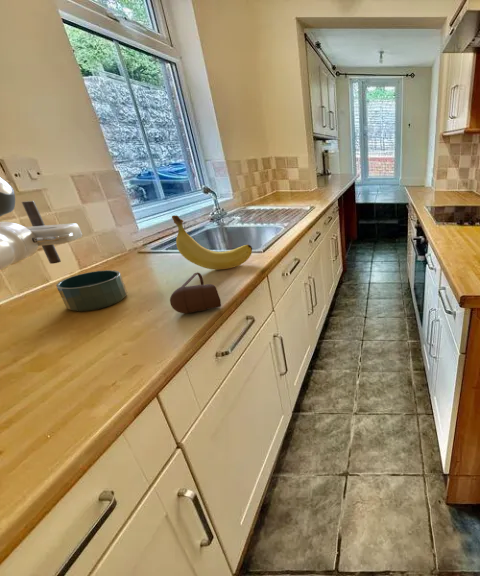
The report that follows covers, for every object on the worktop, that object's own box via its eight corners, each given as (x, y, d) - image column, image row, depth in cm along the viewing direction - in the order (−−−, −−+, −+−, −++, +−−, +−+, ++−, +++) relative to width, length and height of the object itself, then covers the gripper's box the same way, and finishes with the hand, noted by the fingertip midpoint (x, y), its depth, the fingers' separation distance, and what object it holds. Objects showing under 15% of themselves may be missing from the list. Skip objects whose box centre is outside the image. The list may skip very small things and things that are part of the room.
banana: (253, 260, 121) (243, 207, 112) (256, 265, 116) (246, 210, 108) (184, 272, 110) (168, 214, 102) (185, 277, 105) (168, 217, 97)
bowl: (71, 318, 81) (59, 293, 78) (64, 302, 89) (53, 279, 86) (133, 300, 90) (125, 277, 87) (121, 288, 98) (113, 266, 95)
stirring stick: (50, 264, 84) (21, 202, 78) (49, 262, 85) (21, 201, 79) (61, 262, 85) (34, 201, 79) (60, 260, 87) (33, 200, 80)
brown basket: (223, 311, 83) (217, 287, 81) (171, 320, 79) (163, 295, 76) (225, 286, 98) (220, 265, 96) (182, 292, 94) (176, 271, 92)
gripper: (60, 224, 73) (87, 213, 85) (-64, 233, 66) (-16, 220, 78) (71, 250, 75) (96, 237, 87) (-47, 261, 69) (-3, 245, 81)
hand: (42, 229), depth 83 cm, fingers closed on stirring stick, 2 cm apart
